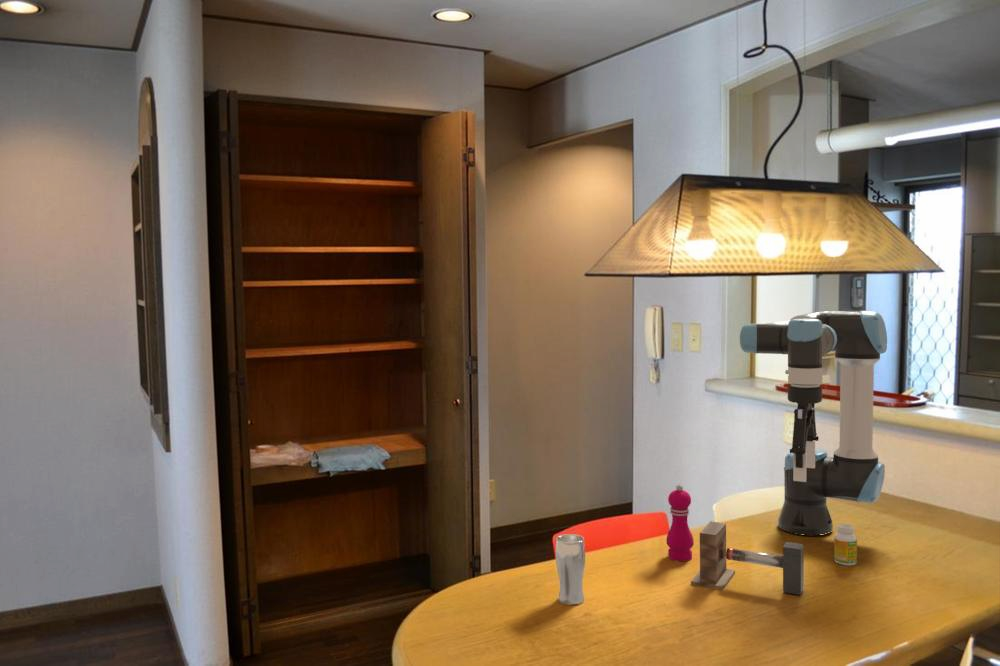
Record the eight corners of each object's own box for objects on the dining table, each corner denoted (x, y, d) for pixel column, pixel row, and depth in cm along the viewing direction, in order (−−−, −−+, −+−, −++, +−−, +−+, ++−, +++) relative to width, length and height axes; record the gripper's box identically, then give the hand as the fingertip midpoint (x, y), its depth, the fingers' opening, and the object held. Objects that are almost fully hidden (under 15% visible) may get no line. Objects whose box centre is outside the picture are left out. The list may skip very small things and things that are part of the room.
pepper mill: (691, 552, 215) (691, 481, 214) (695, 562, 208) (695, 488, 207) (665, 552, 216) (664, 481, 215) (668, 561, 209) (667, 488, 208)
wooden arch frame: (735, 573, 200) (735, 523, 199) (723, 590, 190) (723, 537, 189) (704, 568, 204) (703, 519, 203) (690, 584, 194) (690, 532, 193)
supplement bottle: (849, 567, 202) (849, 530, 201) (830, 561, 206) (830, 525, 205) (860, 562, 205) (861, 526, 204) (841, 557, 209) (841, 521, 209)
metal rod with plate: (803, 588, 188) (803, 544, 187) (800, 595, 185) (800, 549, 184) (729, 576, 197) (729, 533, 196) (725, 582, 193) (725, 538, 193)
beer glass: (550, 599, 187) (549, 538, 186) (571, 591, 191) (570, 531, 190) (571, 608, 181) (570, 545, 180) (592, 600, 186) (591, 538, 185)
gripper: (796, 377, 196) (796, 461, 198) (778, 391, 174) (778, 485, 176) (829, 378, 192) (828, 463, 194) (813, 393, 171) (813, 489, 172)
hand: (804, 474), depth 185 cm, fingers open, 13 cm apart
